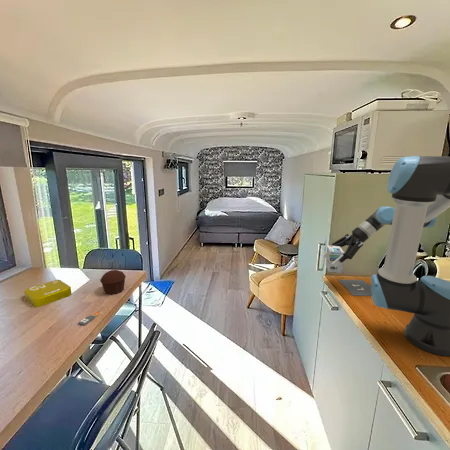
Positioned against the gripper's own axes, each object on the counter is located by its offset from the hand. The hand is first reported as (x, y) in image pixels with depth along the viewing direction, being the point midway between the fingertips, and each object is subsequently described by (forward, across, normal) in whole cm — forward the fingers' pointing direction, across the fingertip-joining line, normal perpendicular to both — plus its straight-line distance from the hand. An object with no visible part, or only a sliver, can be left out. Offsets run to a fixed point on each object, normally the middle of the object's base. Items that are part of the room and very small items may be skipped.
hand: (328, 260), depth 131 cm
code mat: (-2, -1, -22) cm, 22 cm away
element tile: (+106, -15, +86) cm, 137 cm away
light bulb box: (+1, 0, -5) cm, 5 cm away
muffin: (+86, -9, +66) cm, 109 cm away
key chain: (+85, -31, +65) cm, 112 cm away
